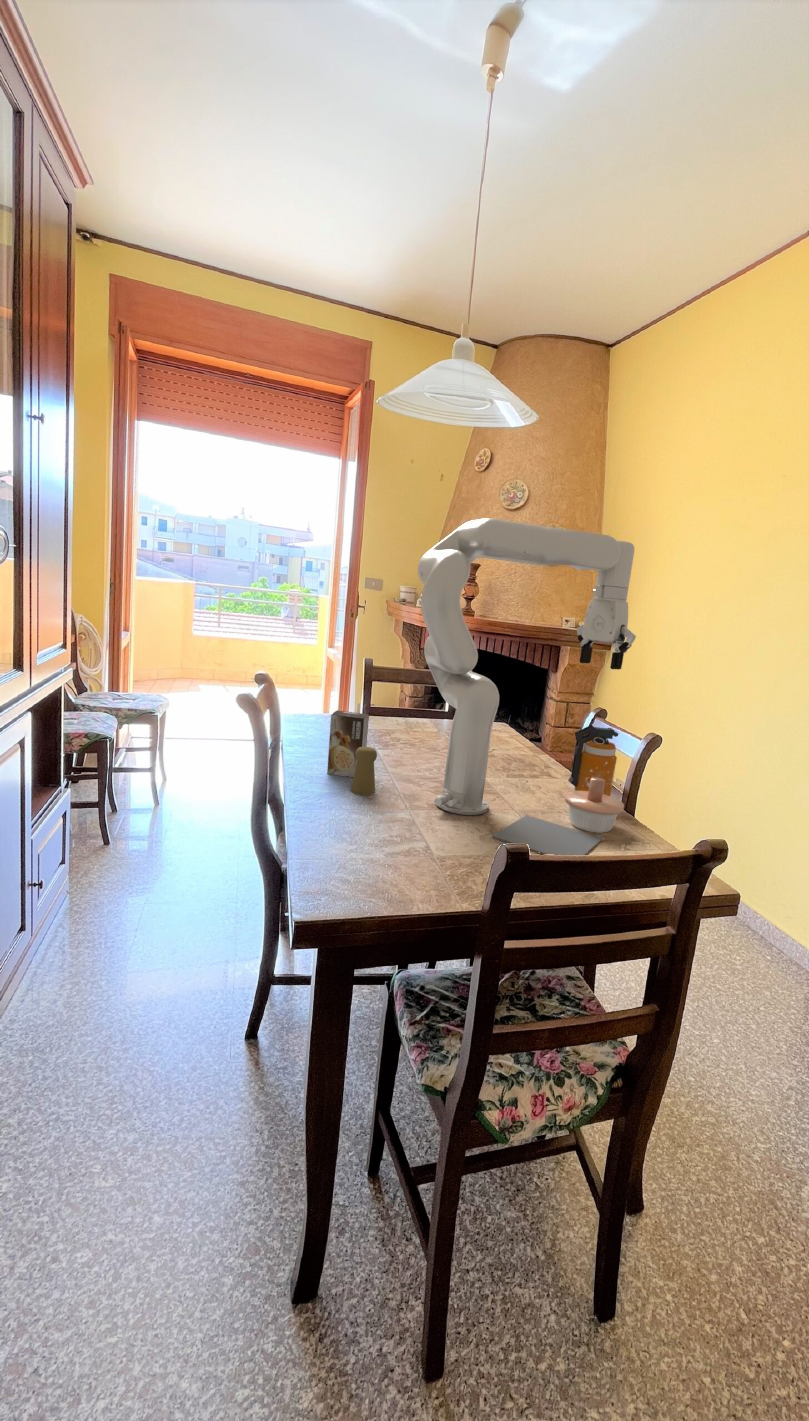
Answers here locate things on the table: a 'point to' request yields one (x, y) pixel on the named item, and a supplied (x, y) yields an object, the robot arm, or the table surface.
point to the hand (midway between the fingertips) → (599, 665)
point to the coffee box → (346, 741)
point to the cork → (364, 771)
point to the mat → (547, 837)
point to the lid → (595, 799)
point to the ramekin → (591, 820)
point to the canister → (593, 758)
